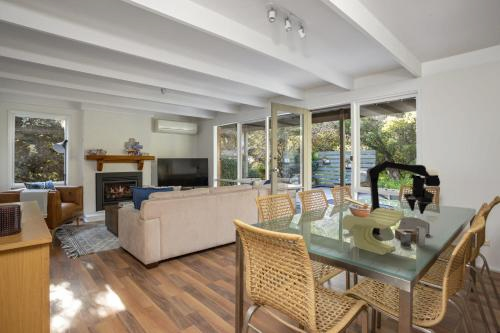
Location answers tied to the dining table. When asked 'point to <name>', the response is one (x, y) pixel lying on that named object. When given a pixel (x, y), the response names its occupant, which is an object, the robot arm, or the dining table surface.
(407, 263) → the dining table surface
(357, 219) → the slatted curved stool
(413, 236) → the socket block
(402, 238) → the cylinder
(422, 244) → the square bit
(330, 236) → the dining table surface
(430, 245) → the dining table surface
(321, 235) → the dining table surface
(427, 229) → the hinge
